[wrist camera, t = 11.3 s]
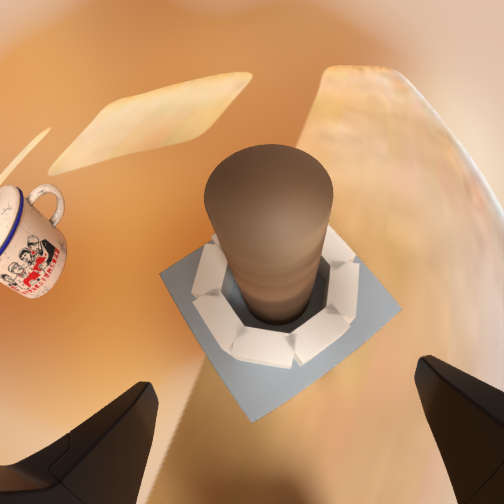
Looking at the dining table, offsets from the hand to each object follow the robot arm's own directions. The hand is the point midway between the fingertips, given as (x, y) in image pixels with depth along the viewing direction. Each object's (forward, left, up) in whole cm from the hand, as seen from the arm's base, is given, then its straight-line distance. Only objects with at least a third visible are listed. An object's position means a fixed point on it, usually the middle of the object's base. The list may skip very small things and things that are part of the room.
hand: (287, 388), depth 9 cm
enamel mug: (-14, +24, -13) cm, 31 cm away
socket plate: (+4, +6, -13) cm, 15 cm away
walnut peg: (+4, +6, -12) cm, 14 cm away
